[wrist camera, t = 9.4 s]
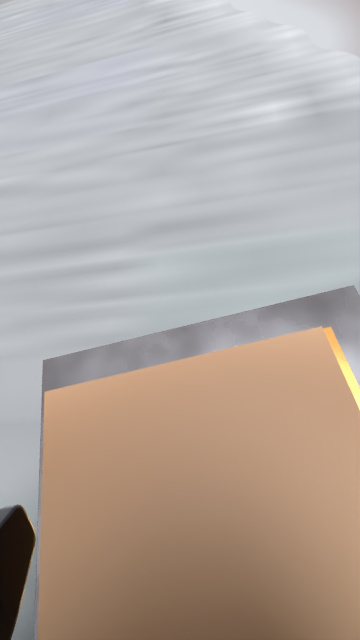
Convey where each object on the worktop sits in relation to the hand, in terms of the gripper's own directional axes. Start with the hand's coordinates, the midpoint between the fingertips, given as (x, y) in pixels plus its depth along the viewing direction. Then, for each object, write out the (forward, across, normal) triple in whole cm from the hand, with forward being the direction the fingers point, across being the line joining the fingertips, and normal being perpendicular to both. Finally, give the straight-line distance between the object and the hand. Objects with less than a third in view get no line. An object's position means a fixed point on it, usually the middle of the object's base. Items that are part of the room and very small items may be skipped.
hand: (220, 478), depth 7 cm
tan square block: (+5, 0, +6) cm, 8 cm away
